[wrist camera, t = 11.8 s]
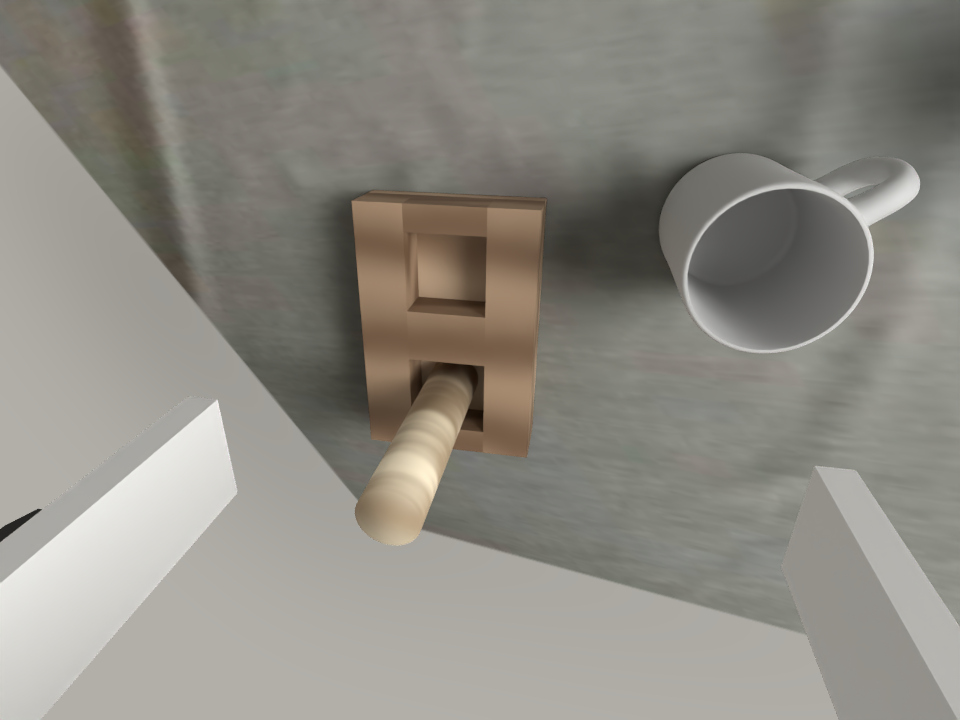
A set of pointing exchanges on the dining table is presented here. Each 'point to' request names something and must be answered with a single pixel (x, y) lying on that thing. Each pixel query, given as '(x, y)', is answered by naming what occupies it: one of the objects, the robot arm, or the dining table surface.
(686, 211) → the mug
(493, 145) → the dining table surface
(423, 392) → the pin
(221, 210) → the dining table surface
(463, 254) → the bore block
